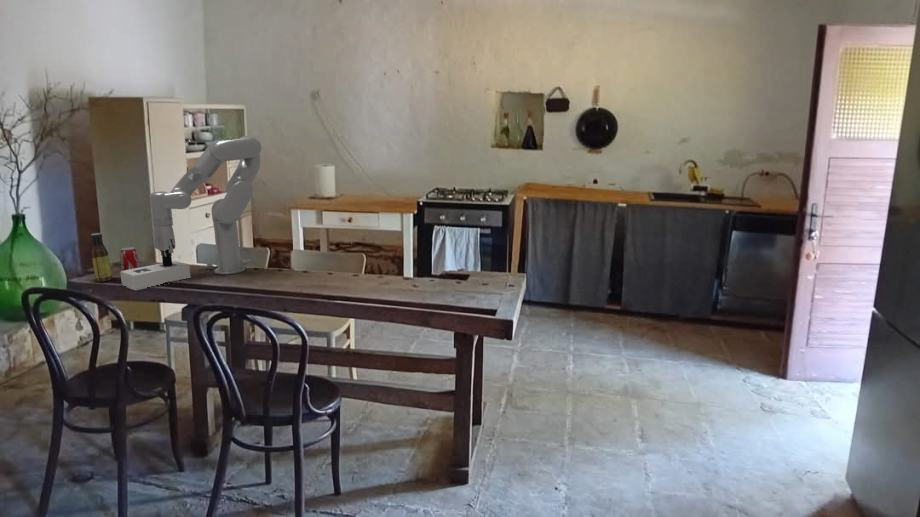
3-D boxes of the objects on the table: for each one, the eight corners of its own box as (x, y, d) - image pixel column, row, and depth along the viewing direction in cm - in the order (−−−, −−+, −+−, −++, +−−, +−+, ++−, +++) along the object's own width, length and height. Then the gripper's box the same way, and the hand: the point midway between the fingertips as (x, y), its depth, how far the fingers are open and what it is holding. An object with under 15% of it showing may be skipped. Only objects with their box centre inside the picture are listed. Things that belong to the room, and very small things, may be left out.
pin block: (176, 274, 287) (175, 260, 285) (190, 278, 279) (189, 264, 278) (122, 285, 270) (120, 271, 268) (135, 290, 262) (133, 275, 261)
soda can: (135, 277, 282) (132, 249, 280) (119, 277, 283) (115, 250, 280) (143, 273, 289) (140, 246, 287) (127, 273, 290) (124, 246, 287)
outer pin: (146, 281, 274) (145, 268, 272) (152, 283, 270) (150, 270, 269) (134, 284, 270) (133, 270, 269) (140, 286, 267) (138, 272, 266)
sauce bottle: (115, 278, 281) (109, 232, 277) (106, 282, 275) (100, 235, 271) (101, 278, 282) (94, 232, 277) (92, 282, 276) (85, 235, 271)
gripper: (145, 221, 275) (150, 264, 279) (162, 225, 265) (167, 269, 269) (163, 219, 280) (167, 261, 284) (180, 222, 271) (185, 266, 275)
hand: (167, 265), depth 277 cm, fingers closed
